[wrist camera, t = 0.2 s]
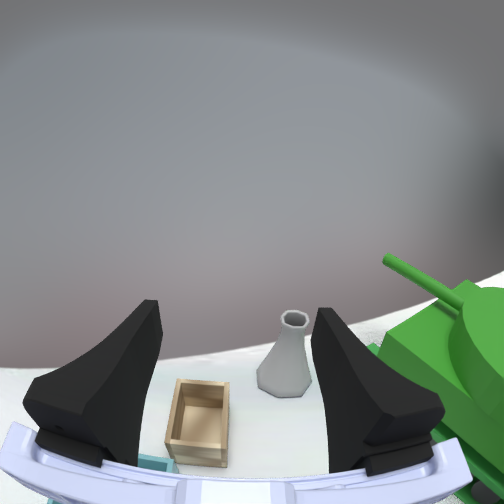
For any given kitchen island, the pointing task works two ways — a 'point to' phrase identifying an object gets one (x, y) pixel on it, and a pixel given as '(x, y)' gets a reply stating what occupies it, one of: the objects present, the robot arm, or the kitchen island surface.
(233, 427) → the kitchen island surface
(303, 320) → the flask
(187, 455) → the birch crate
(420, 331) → the tank
